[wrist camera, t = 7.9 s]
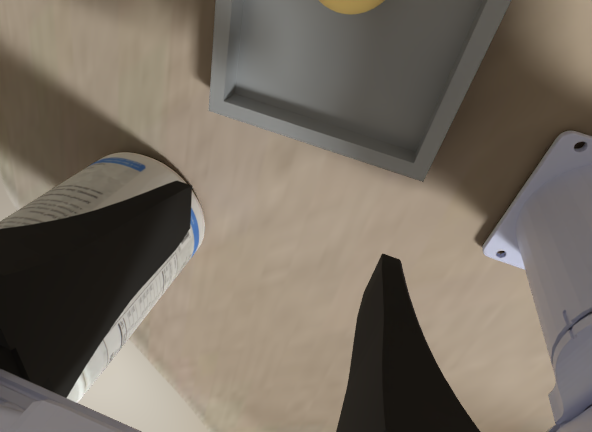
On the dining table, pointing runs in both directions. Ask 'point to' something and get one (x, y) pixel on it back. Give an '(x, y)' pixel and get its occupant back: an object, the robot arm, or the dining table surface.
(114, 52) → the dining table surface
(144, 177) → the supplement tub
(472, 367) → the dining table surface
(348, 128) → the dish
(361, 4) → the ball
